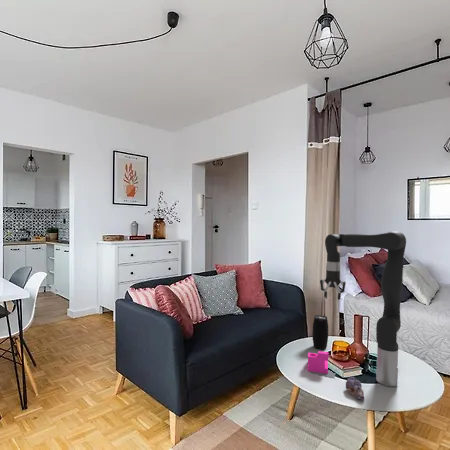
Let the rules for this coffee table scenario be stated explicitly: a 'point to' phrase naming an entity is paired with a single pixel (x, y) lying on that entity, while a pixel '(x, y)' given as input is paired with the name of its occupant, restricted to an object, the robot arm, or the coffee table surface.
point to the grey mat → (330, 374)
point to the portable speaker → (320, 332)
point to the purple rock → (355, 388)
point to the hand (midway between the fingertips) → (332, 298)
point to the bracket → (318, 362)
